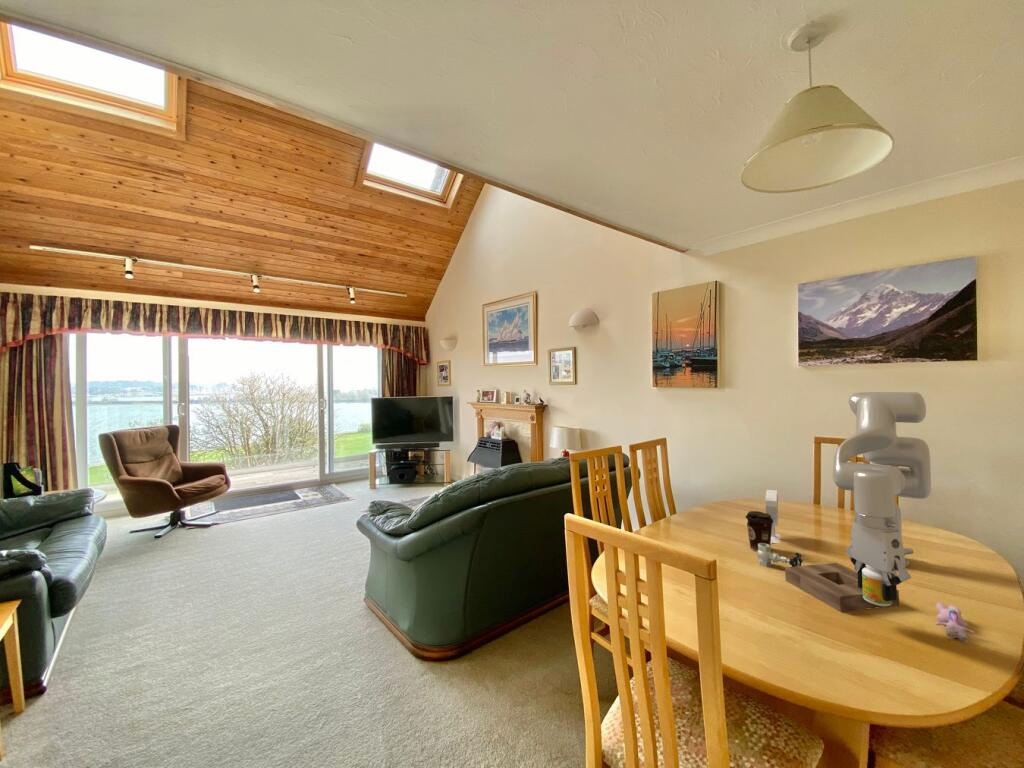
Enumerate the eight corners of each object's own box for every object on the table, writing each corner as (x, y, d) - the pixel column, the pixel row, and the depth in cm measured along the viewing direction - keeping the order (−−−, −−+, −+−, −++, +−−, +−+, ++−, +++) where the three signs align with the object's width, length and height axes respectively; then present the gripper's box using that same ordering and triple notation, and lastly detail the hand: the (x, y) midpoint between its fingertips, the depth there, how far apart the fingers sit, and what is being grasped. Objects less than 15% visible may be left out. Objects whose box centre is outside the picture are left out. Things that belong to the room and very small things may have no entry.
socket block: (837, 575, 129) (836, 562, 129) (899, 605, 111) (898, 590, 111) (785, 580, 126) (785, 567, 126) (840, 611, 108) (839, 596, 108)
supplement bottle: (856, 596, 105) (855, 558, 105) (876, 594, 105) (875, 556, 105) (877, 607, 99) (876, 567, 99) (897, 605, 100) (896, 565, 100)
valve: (754, 565, 137) (796, 577, 128) (753, 545, 137) (796, 556, 128) (761, 560, 141) (802, 571, 132) (760, 540, 141) (802, 550, 132)
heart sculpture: (780, 545, 153) (778, 497, 153) (764, 543, 156) (763, 495, 156) (780, 533, 166) (779, 488, 166) (766, 531, 169) (765, 487, 169)
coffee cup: (747, 552, 148) (746, 515, 148) (744, 543, 156) (743, 509, 156) (776, 555, 145) (775, 518, 145) (771, 546, 152) (770, 511, 153)
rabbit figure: (979, 654, 92) (963, 614, 104) (979, 630, 92) (964, 592, 103) (939, 644, 96) (928, 607, 108) (939, 621, 96) (928, 585, 107)
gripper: (926, 531, 94) (929, 610, 94) (854, 508, 111) (856, 576, 111) (898, 534, 93) (901, 614, 93) (829, 511, 110) (831, 578, 110)
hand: (876, 592), depth 102 cm, fingers closed on supplement bottle, 5 cm apart
